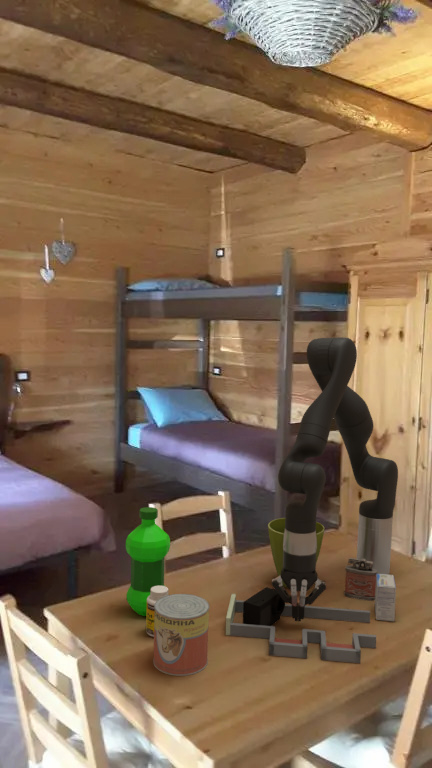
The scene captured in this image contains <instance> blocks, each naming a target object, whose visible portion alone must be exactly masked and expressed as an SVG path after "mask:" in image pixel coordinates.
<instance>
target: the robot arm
mask: <svg viewBox="0 0 432 768" xmlns="http://www.w3.org/2000/svg"><path fill="white" fill-rule="evenodd" d="M357 354H358V351H357V347H356V344H355V342H354V341H353V340H352V339H351V338H349V337H339V336H338V337H318V338H314V339H311V341H310V342H308V344H307V347H306V361H307V365H308V367H309V369H310V370H309V371H311V374H312V376H313V378H314V379H315V381H316V383H317V384H318V387H319V388H320V390H321V393H320V394H319V395H318V396H317V397H316V398H315V399H314V400H313V402H312V403H311V404H310V405H309V406H308V407H307V409H306V410H305V411H304V414H303V415H302V417H301V420H300V424H299V426H298V431H297V435H296V438H295V441H294V443H293V445H292V447H291V448H290V450H289V452H288V454H287V455H286V457H285V458H284V460H283V462H282V464H281V465H280V468H279V469H278V470H279V471H278V475H277V480H278V484H279V487H280V488H281V489H282V490H283V491H286V492H291V493H295V494H302V495H305V498H304V500H295V501H290V502H289V503H287V505H286V507H285V511H284V514H285V516H284V518H285V532H284V542H283V569H282V571H281V574H280V576H278V575H277V577H272V579H271V586H272V587H273V589H275V590H276V591H277V593H278V594H279V595H280V597H281V598H282V599H283V600H284V602H285V604H291V605H292V616H291V619H294V622H302V620H304V618H305V617H304V607H305V606H312V604H314V603H315V601H317V599H318V598H319V597H320V596H321V594H322V593H324V591H325V590H326V589H327V583H326V581H325V580H322V579H320V578H319V575H318V573H317V563H316V549H317V537H316V522H317V512H318V508H319V504H320V500H321V498H322V497H321V496H322V494H323V491H324V488H325V486H326V480H327V478H326V476H327V475H326V473H325V469H324V468H323V467H322V466H321V465H320V464H317V463H312V462H305V461H306V460H308V459H310V458H316V457H320V456H322V455H324V453H325V451H326V448H327V444H328V440H329V435H330V432H331V428H332V425H333V421H334V422H335V425H336V427H337V431H338V432H339V434H340V436H341V439H342V441H343V444H344V447H345V449H346V452H347V454H348V455H347V456H348V459H349V462H350V466H351V470H352V473H353V478H354V479H355V483H357V485H358V486H359V487H361V488H363V489H365V490H370V491H375V492H377V493H376V498H374V499H367V500H364V501H361V502H360V503H359V505H358V506H359V507H358V526H357V527H358V528H357V546H356V559H358V560H361V559H366V561H371V562H373V566H372V569H376V570H377V574H388V575H390V571H391V570H390V569H391V555H392V537H393V521H394V519H393V518H394V517H393V516H394V510H395V505H396V496H397V487H398V482H399V481H398V480H399V470H398V469H399V468H398V465H397V463H396V461H394V460H392V459H387V458H384V457H383V458H382V457H378V456H373V455H371V454H370V452H369V450H368V447H367V444H368V443H369V440H370V437H372V434H373V431H374V421H373V417H372V414H371V412H370V408H369V406H368V405H367V403H366V401H365V399H363V398H362V397H361V396H360V395H359V394H358V393H357V392H356V391H354V390H353V389H352V387H350V386H349V385H348V384H349V383H350V380H351V378H352V375H353V373H354V371H355V367H356V364H357V359H358V357H357V356H358V355H357ZM356 566H359V565H356ZM368 568H369V566H368ZM282 580H283V581H284V583H285V584H286V586H287V587H288V588H287V587H286V588H287V589H288V590H290V594H289V593H288V591H287V590H286V589H285V587H284V586H283V585H282V584H283V582H282ZM313 585H314V588H313V589H312V590H311V592H310V593H309V594H308V595H307V592H308V591H310V589H311V588H312V587H313ZM298 592H299V599H298Z"/></svg>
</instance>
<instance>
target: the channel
mask: <svg viewBox="0 0 432 768" xmlns="http://www.w3.org/2000/svg"><path fill="white" fill-rule="evenodd" d="M244 601H245V600H240V599H237V593H231V595H230V600H229V603H228V604H229V605H228V608H227V612H226V617H225V636H231V637H241V638H242V637H246V638H256V639H265V640H266V639H267V640H269V643H268V656H275V657H286V658H287V657H289V658H297V659H307V658H308V643H310V644H320V658H321V661H331V662H340V663H341V662H342V663H351V664H352V663H353V664H354V663H355V664H361V653H362V651H361V648H369V649H376V648H377V634H368V633H367V634H366V633H356V632H353V633H352V637H351V638H352V642H351V644H346V643H337V642H335V643H333V642H327V636H326V635H327V634H326V631H325V630H320V629H310V628H302V630H301V639H300V640H299V639H289V638H278V637H277V638H276V626H274V625H272V626H263V625H252V624H243V623H241V622H240V623H237V622H234V618H235V613H243V603H244ZM281 616H283V617H292V605H291V604H290V603H285V607H284V610H283V612H282V614H281ZM304 618H309V619H320V620H330V621H331V620H332V621H343V622H344V621H345V622H355V623H356V622H357V623H368V624H370V622H371V610H365V609H364V610H363V609H354V608H353V609H352V608H351V609H350V608H340V607H329V606H327V607H325V606H314V605H305V607H304Z"/></svg>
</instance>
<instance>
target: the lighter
mask: <svg viewBox="0 0 432 768" xmlns="http://www.w3.org/2000/svg"><path fill="white" fill-rule="evenodd" d="M347 560H348V564H350V565H345V566H344V567H345V568H344V569H345V582H344V591H343V595H344V596H345V597H347V598H351V599H356V600H362V601H371V602H372V601H373V602H375V587H376V574H377V570H376V569H372V566H373V562H371V561H366V559H361V560H358V559H357V558H354V557H349V558H348V559H347ZM356 565H359V566H356ZM368 566H369V568H368Z"/></svg>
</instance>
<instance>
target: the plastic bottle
mask: <svg viewBox="0 0 432 768" xmlns="http://www.w3.org/2000/svg"><path fill="white" fill-rule="evenodd" d="M158 515H159V510H158V509H157V508H156V507H152V506H151V507H147V506H145V507H141V508H140V509H139V515H138V517H139V519H141V524H139V525H138V526H137V527H136V528H134V529H132V531H131V532H130V533H129V534H128V535H127V537H126V539H125V550H126V553H127V554H128V555H129V556H130V586H129V587H128V589H127V591H126V601H127V603H128V605H129V606H130V607H131V609H132V610H133V611H134V612H135V613H137V615H139V616H143V617H145V616H146V613H147V598H148V596H149V595H150V593H151V588H152V587H154V586H165V557H166V556H167V555H168V553H169V552H170V548H171V539H170V536H169V534H168V533H167V532H166V531H164V529H162V528H161V526H159V525H158V524H156V520H157V518H158V517H159V516H158Z"/></svg>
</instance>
